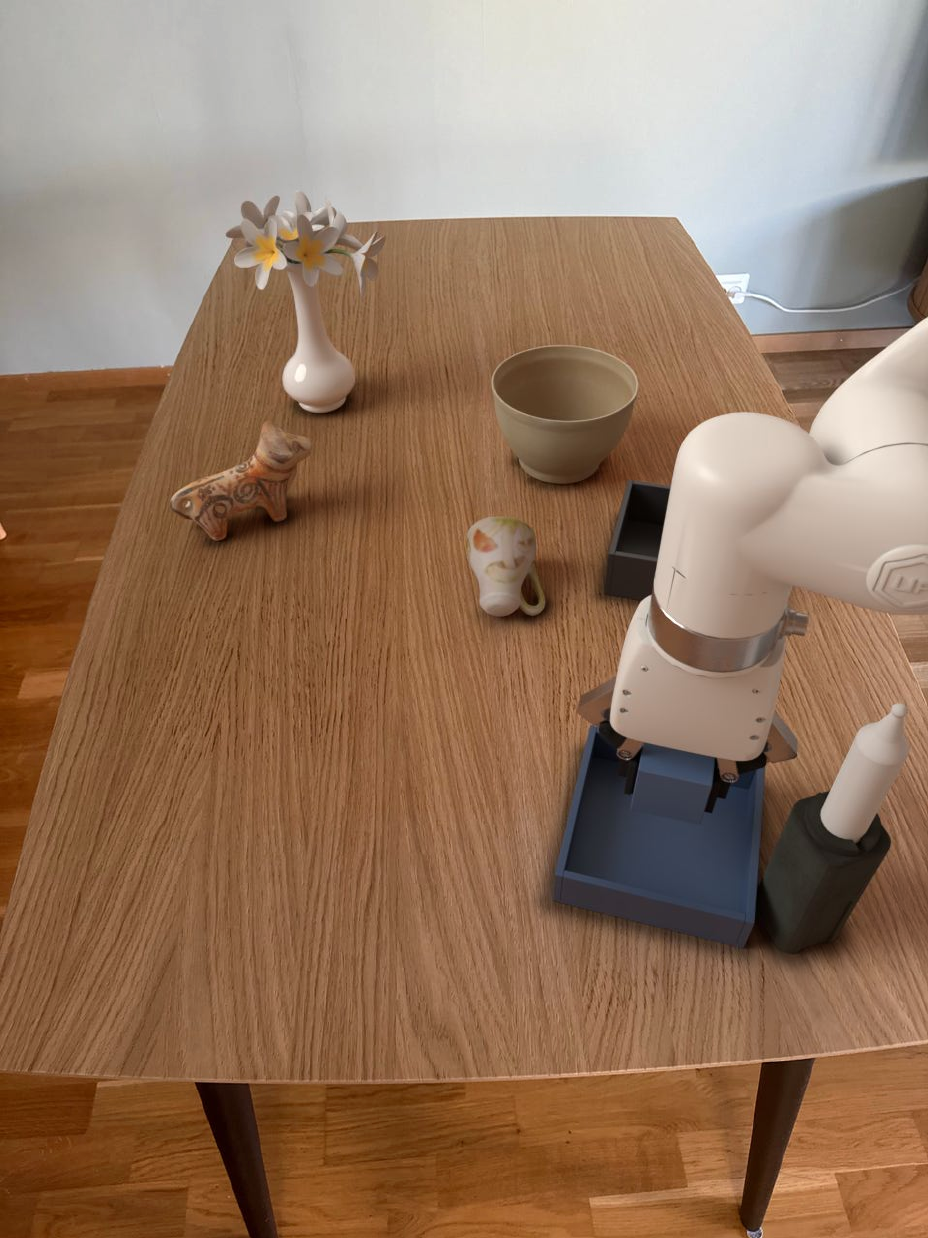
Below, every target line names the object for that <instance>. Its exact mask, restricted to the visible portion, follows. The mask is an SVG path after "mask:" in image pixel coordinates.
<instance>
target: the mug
mask: <svg viewBox="0 0 928 1238" xmlns="http://www.w3.org/2000/svg"><path fill="white" fill-rule="evenodd" d="M465 540H466V541H465V551H466V556H467V559H468V562H469V564H470V567H471V570H472V572H473V574H474V576H475V579H476V580H477V583H478V588H479V606H480V607H481V609H482V610H484V612H485V613H486V614H488V615H489V616H490V615H491V616H493V617H498V618H499V617H506V616H510V615H511V614H513V613H515V611H516V610H518V609H520V610H521V611H522V612H523V613H524V614H526V615H528V616H532V617H533V616H538V615H539V614H541V613H542V612H543V610H544V609H545V607H546V596H545V592H544V590H543V588H542V585H541V583H540V579H539V576H538V573H537V570H536V563H535V558H536V553H537V538H536V534H535V531H534V529H533V528H532V526H531V525H529V524H528V523H527V522H524V521H523V520H521V519H518V518H515V517H511V516H502V515H501V516H488V517H487V516H486V517H484V518H481V519H479V520H477V521H476V522H474V523H473V524H472V526H470V527H469V530H468V531H467V533H466V539H465ZM526 577H528V578H529V581H530V583H531V584H532V587H533V589H534V591H535V594H536V597H537V602H538V603H537V604H536V605H530V604H528V603H527V601H526V600H525V598H524V596H523V593H522V585H523V583H524V581H525V579H526Z"/></svg>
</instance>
